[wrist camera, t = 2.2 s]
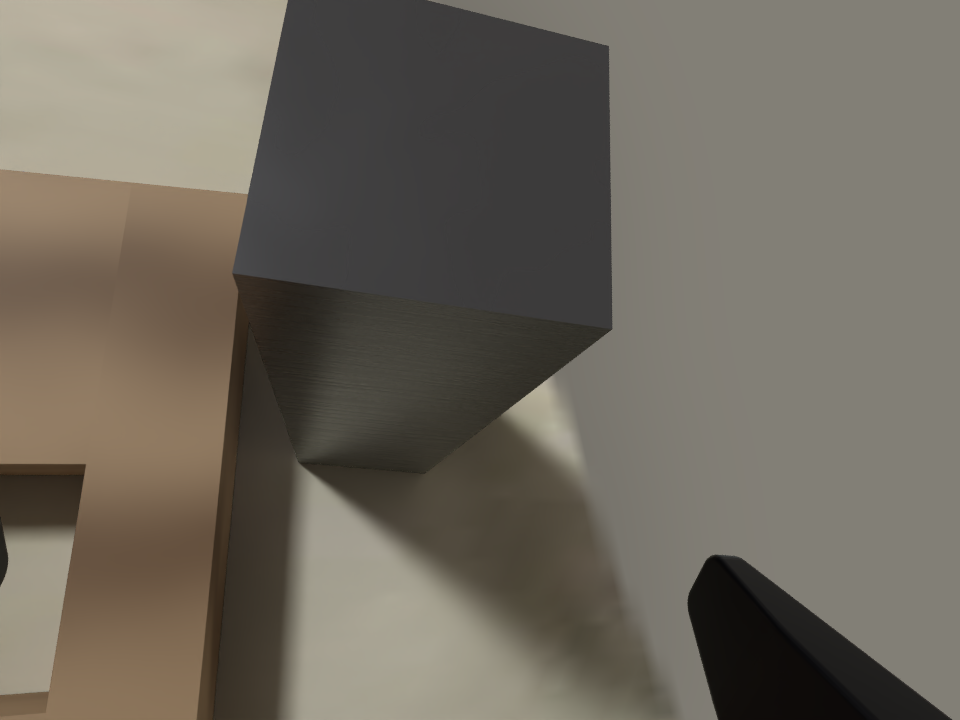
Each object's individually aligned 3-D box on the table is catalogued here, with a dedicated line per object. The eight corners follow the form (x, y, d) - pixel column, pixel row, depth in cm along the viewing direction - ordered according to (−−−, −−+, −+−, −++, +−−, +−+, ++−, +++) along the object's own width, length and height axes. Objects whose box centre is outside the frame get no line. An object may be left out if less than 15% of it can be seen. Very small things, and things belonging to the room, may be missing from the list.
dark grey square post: (424, 473, 20) (611, 329, 7) (298, 462, 19) (232, 272, 6) (434, 357, 21) (608, 45, 8) (316, 342, 20) (295, -33, 7)
